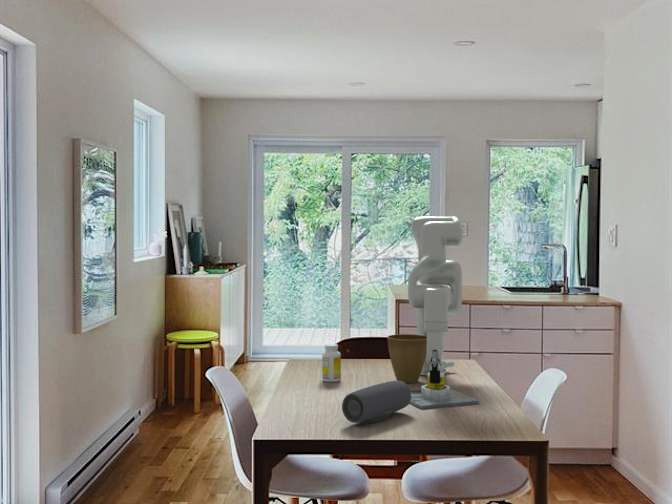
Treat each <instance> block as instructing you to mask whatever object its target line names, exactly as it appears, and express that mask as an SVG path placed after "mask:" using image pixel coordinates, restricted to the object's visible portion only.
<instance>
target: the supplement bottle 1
mask: <svg viewBox="0 0 672 504" xmlns="http://www.w3.org/2000/svg"><path fill="white" fill-rule="evenodd" d="M338 349H339V344H336V343H327V344H325V345H324V350H325V351H323V353H322V354H321V357H322V359H321V361H322V362H321V364H322V365H321V366H322V370H321V371H322V372H321V373H322V380H323V382H326V383H327V382H328V383H336V382H340V381H341V379H342V367H341V366H342V356H341V355H342V354H341V352H340V351H338Z"/></svg>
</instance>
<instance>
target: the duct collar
mask: <svg viewBox="0 0 672 504" xmlns="http://www.w3.org/2000/svg"><path fill="white" fill-rule="evenodd" d="M410 392H411V401H410V403H409V405H412V406H415V407H416V408H418V409H420V410H427V409H429V410H430V409H438V408H447V407H448V408H449V407H458V406H471V405H479V404H480V399H476V398H475V397H471V396H469V395H467V394H465V393H463V392H459V391H458V390H455V389H453V388H451V386H450V385H446V384H444V389H427V384H424V385H421V388H420V389H419V390H410Z"/></svg>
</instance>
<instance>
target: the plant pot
mask: <svg viewBox="0 0 672 504" xmlns="http://www.w3.org/2000/svg"><path fill="white" fill-rule="evenodd" d="M386 338H387V346H388V354H389V358H390V362H391V365H392V369H393V373H394V376H395V379H396V381H403V382H404V383H406V384H415V383H418V382H419V380H420V377H421V376H422V375H421V372H422V369H423V365H424V362H425V358H426V353H427V336H423V335H417V334H413V333H412V334H411V333H409V334H407V333H406V334H405V333H404V334H403V333H401V334H399V333H397V334H390V335H387V337H386Z"/></svg>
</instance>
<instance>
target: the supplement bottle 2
mask: <svg viewBox="0 0 672 504" xmlns="http://www.w3.org/2000/svg"><path fill="white" fill-rule="evenodd" d="M430 366H431V365H430ZM437 368H438V366H437ZM439 371H440V383H439V384H433V383H430V372H429V373H428V376H426V378H427V383H426V385H427V389H444V385H445V374H444V373H442V366H441V365H439Z"/></svg>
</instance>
